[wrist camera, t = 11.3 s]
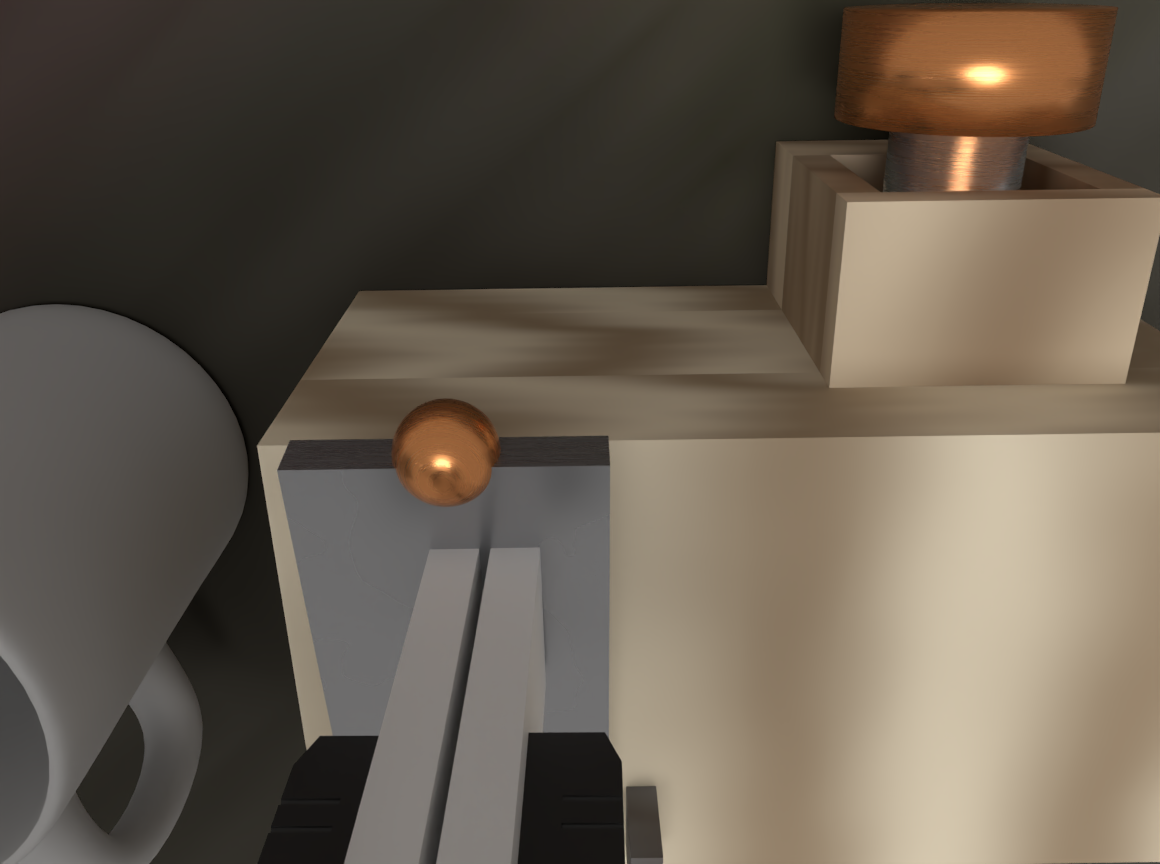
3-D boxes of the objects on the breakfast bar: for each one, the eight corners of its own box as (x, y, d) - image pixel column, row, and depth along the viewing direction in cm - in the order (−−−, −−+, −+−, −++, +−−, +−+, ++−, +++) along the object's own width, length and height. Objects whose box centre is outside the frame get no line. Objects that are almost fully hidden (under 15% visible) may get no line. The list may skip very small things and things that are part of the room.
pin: (767, 659, 28) (803, 786, 24) (819, 5, 21) (882, 15, 17) (939, 656, 28) (1006, 783, 24) (1048, 1, 21) (1172, 10, 17)
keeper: (373, 831, 21) (360, 903, 20) (287, 381, 15) (259, 438, 14) (606, 828, 21) (608, 900, 20) (608, 375, 15) (611, 434, 14)
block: (395, 622, 29) (306, 949, 20) (343, 147, 24) (182, 274, 14) (1011, 613, 29) (1231, 936, 20) (1107, 136, 24) (1481, 254, 14)
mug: (-141, 372, 26) (-583, 622, 16) (141, 248, 25) (-150, 437, 15) (118, 711, 31) (-100, 1067, 21) (367, 621, 29) (261, 956, 20)
